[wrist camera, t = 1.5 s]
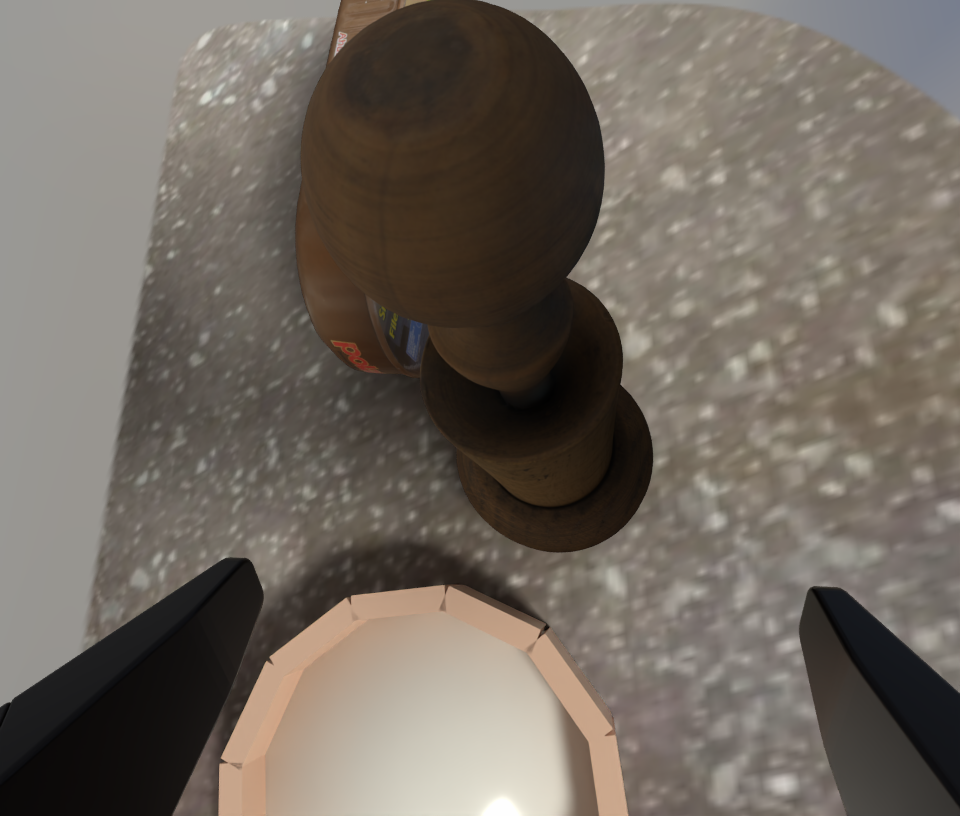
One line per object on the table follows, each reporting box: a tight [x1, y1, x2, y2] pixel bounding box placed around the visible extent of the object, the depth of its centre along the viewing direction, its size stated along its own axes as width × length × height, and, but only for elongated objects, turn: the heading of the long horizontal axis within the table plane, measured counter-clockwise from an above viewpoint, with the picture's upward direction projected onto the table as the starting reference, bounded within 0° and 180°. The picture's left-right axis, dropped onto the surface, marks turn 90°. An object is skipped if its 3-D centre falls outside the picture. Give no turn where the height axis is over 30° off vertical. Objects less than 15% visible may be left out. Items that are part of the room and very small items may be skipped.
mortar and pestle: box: [301, 0, 653, 552], centre depth 13 cm, size 7×6×18 cm
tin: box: [295, 0, 430, 378], centre depth 21 cm, size 15×3×8 cm, turn 173°
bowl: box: [219, 584, 629, 816], centre depth 19 cm, size 13×13×2 cm
